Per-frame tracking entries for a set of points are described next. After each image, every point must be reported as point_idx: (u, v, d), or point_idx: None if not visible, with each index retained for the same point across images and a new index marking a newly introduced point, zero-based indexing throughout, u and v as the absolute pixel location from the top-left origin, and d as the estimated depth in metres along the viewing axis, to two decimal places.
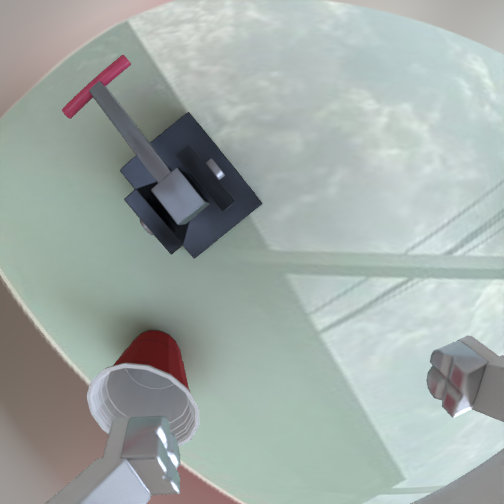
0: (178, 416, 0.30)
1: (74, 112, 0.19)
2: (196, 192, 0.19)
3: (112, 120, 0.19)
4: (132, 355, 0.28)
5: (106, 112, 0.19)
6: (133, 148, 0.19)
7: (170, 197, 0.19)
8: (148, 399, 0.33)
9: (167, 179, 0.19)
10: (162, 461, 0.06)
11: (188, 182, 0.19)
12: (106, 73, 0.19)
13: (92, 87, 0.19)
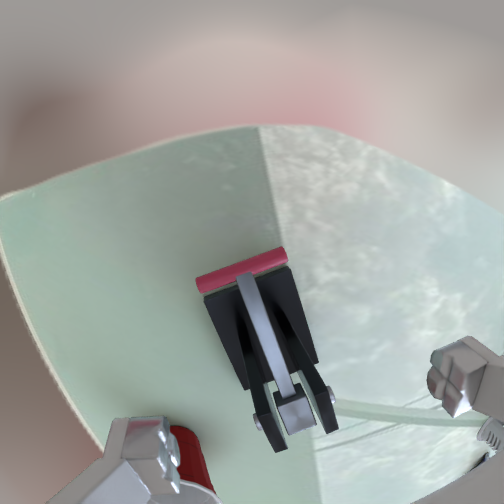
0: None
1: (209, 290, 0.21)
2: (313, 417, 0.21)
3: (255, 326, 0.21)
4: None
5: (251, 315, 0.21)
6: (269, 363, 0.21)
7: (291, 417, 0.20)
8: None
9: (294, 403, 0.20)
10: (162, 461, 0.06)
11: (310, 409, 0.21)
12: (260, 265, 0.20)
13: (240, 275, 0.20)
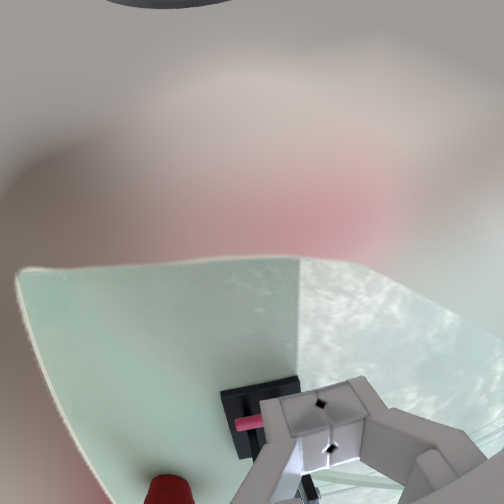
0: None
1: None
2: None
3: None
4: None
5: None
6: None
7: None
8: None
9: None
10: (330, 432, 0.07)
11: None
12: None
13: None
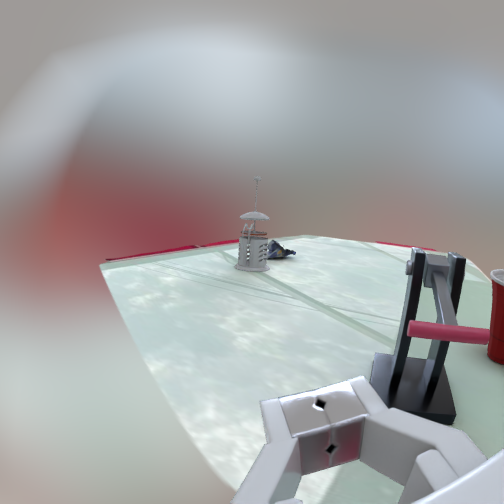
0: None
1: None
2: (427, 256, 0.28)
3: (450, 301, 0.21)
4: None
5: (452, 306, 0.20)
6: (446, 286, 0.23)
7: (441, 260, 0.27)
8: None
9: (437, 263, 0.26)
10: (330, 433, 0.07)
11: (427, 258, 0.27)
12: (434, 323, 0.18)
13: (453, 325, 0.18)
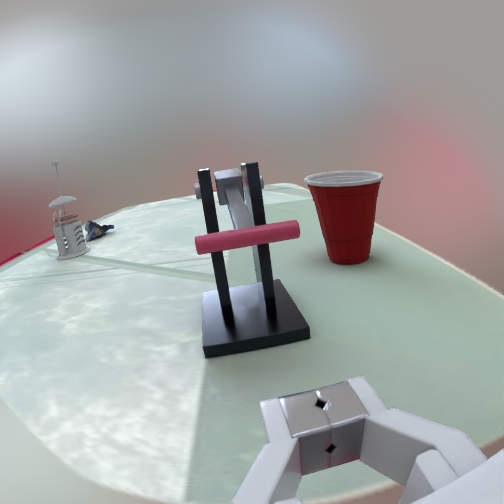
0: None
1: None
2: (215, 173, 0.28)
3: (244, 206, 0.22)
4: (344, 210, 0.39)
5: (246, 210, 0.21)
6: (239, 194, 0.24)
7: (231, 173, 0.28)
8: None
9: (226, 176, 0.27)
10: (329, 432, 0.07)
11: (215, 175, 0.28)
12: (225, 231, 0.19)
13: (249, 226, 0.19)
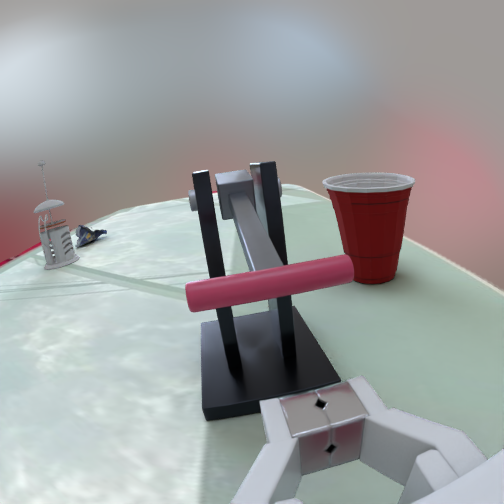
0: None
1: None
2: (216, 176, 0.21)
3: (262, 227, 0.15)
4: (372, 221, 0.32)
5: (265, 235, 0.14)
6: (252, 207, 0.17)
7: (239, 175, 0.21)
8: None
9: (232, 181, 0.20)
10: (330, 432, 0.07)
11: (217, 179, 0.20)
12: (235, 275, 0.11)
13: (274, 266, 0.12)
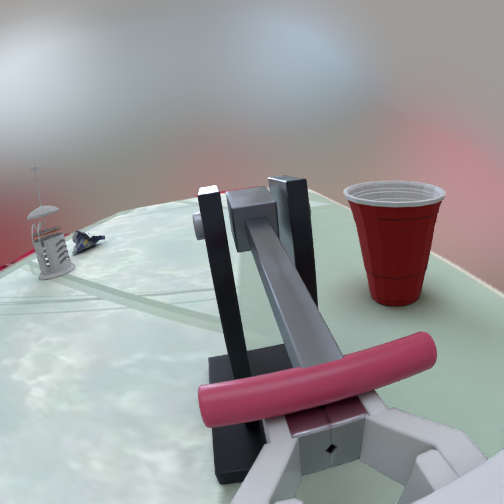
0: None
1: None
2: (228, 195, 0.17)
3: (300, 282, 0.10)
4: (400, 239, 0.27)
5: (308, 296, 0.10)
6: (280, 244, 0.13)
7: (257, 195, 0.16)
8: None
9: (250, 203, 0.15)
10: (330, 432, 0.07)
11: (229, 199, 0.16)
12: (274, 377, 0.07)
13: (330, 359, 0.07)
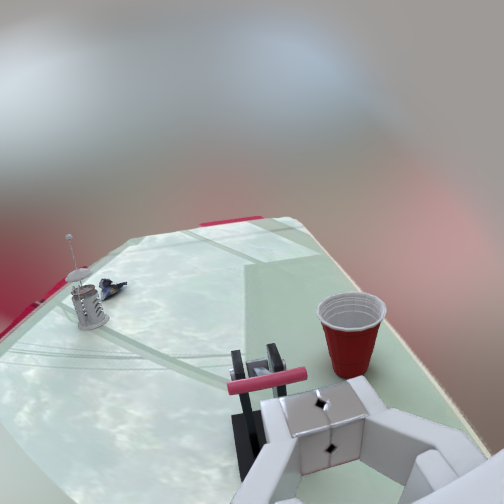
0: (339, 313, 0.52)
1: None
2: (246, 362, 0.34)
3: (267, 370, 0.27)
4: (350, 345, 0.44)
5: (268, 370, 0.26)
6: (264, 368, 0.29)
7: (259, 359, 0.34)
8: None
9: (255, 361, 0.33)
10: (330, 432, 0.07)
11: (246, 362, 0.34)
12: (250, 377, 0.23)
13: (268, 374, 0.24)
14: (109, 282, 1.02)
